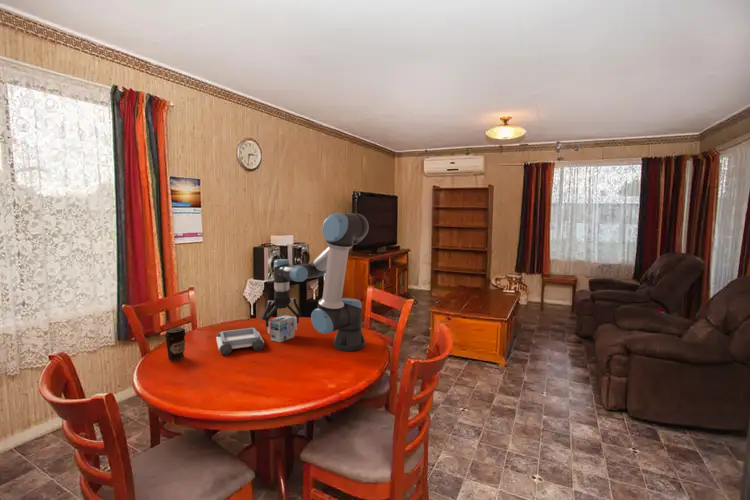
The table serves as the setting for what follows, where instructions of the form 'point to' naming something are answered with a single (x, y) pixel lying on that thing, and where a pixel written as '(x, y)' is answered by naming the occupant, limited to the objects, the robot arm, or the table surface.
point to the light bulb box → (282, 328)
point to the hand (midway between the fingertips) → (282, 331)
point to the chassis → (239, 340)
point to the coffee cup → (175, 343)
